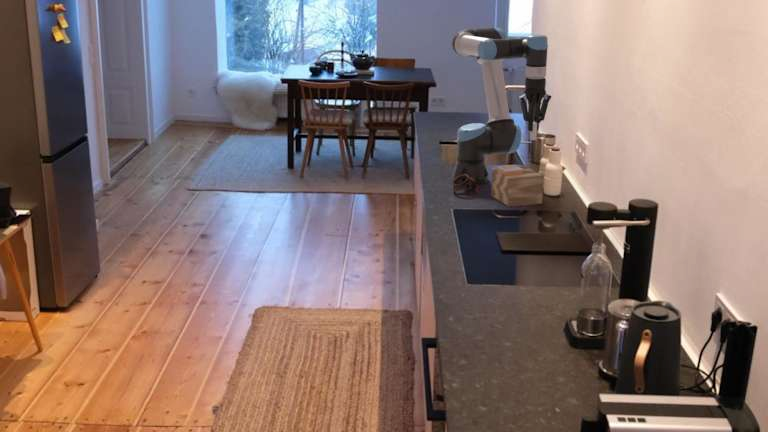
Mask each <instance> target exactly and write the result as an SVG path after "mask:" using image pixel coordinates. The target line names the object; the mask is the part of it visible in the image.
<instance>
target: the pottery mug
mask: <svg viewBox="0 0 768 432" xmlns="http://www.w3.org/2000/svg"><path fill="white" fill-rule="evenodd" d="M460 179H461V181H462V182H463V183H461V184H459V183H456V182H457V181H459V180H460ZM467 188H471V189H470V190H472V191H476V194H478V193H479V190H478V189H479V188H478V185H477V184H476V182H475V180H474V179H473V178H471V177H469V176H468V175H467V174H463V175H460V176H458V177H457V178H455V179H454V181H453V180H452V191H453V193H455V192H459V191H462V190H468V189H467Z"/></svg>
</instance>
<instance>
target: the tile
mask: <svg viewBox="0 0 768 432" xmlns="http://www.w3.org/2000/svg"><path fill="white" fill-rule="evenodd" d="M518 166H519V165H517V164H506V165H498V166H497V168H498V171H499V172H500V173H502V174H504V175H505V176H507V175H518V174H523V169H522V168H520V167H518Z"/></svg>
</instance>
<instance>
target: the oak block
mask: <svg viewBox="0 0 768 432" xmlns="http://www.w3.org/2000/svg"><path fill="white" fill-rule="evenodd" d="M517 166H518V167H520V168H522V169H523V174H518V175H507V176H505V175H504V174H502V173H500V172H499V171H498V167H493V168H491V188H490V195H491V197H493V198H494V199H496V200H497V201H499V202H500V201H501V203H502V204H503V203H504V205H505V204H506V205H505V206H507V207H508V206H512V207H518V205H519V206H520V205H521V206H528V205H540V204H542V203H543V189H544V175H543V174H542V173H540V172H538V171H536V170H534V169H532V168H530V167H528V166H526V165H524V164H522V165H517ZM521 206H520V207H521Z"/></svg>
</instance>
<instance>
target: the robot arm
mask: <svg viewBox="0 0 768 432" xmlns="http://www.w3.org/2000/svg"><path fill="white" fill-rule="evenodd" d="M506 34H507V33H506V32H505V31H504V30H503V29H502V28H499V27H483V28H480V27H479V28H466V29H462V30H460V31H458V32H457V33H455V35H454V36H453V37H452V40H451V47H452V50H453V52H454V53H455V54H457V55H459V56H460V57H461V56H462V57H464V58H465V57H466V58H468V57H470V58H471V57H474V58H476V60H477V63H478V64H480V66H481V71H482V72H481V73H482V77H483V84H484V86H483V87H484V92H485V93H484V94H485V98H486V99H485V100H486V106H487V113H488V121H487V122H486V124H485V123H481V122H478V123H476V122H473V123H468V124H467V123H466V124H464V125H462V126H461V127H459V128H458V130H457V137H456V141H457V142H456V147H457V148H456V164H455V167H454V170H453V172H452V178H451V179H452V182H453V181H454V179H455V178H457V177H458V176H460V175H463V174H467V175H468V176H469V177H471V178H473V179H474V180H475V182H476V184H477V186H478V185H482V184H487V183H488V182H489V180H490V179H489V178H490V175H489V171H488V168H487V165H486V156H488V155H489V156H491V155H504V154H505V155H507V154H514V153H516V152H517V151H518V150H519V148H520V145H521V142H522V129H521V127H520V125H518V124H515V120H514V118H512V117H511V116H510V111H509V103H508V96H507V89H506V88H507V87H506V81H505V75H504V68H503V61H504V60H511V59H512V60H515V59H525V61H526V62H525V77H526V78H525V82H524V87H525V90H524V92H523V94H522V95H520V96H518V97H517V98H518V100H519V102H520V109H521V112H522V118H523V121H525V122H527V131H529V139H530V140H532V141H537V138H538V137H537V134H538V133H537V132H538V131H539V129H540V124H541V122H542V121H544V120H545V118H546V117H545V116H546V113H547V110H548V105H549V102H550V101H551V98H552V95H551V94H548V93H547V91H546V86H547V85H546V84H547V80H546V76H547V62H548V49H549V48H548V47H549V45H548V36H546V35H544V34H530V35H528V36H527V37H525V36H524V37H523V36H519V37H516V38H508V36H507V35H506ZM526 101H527V102H526ZM527 104H528V105H527ZM461 183H463V182H462V181H461V179H460V180H459V181H457V182H456V184H461Z"/></svg>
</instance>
